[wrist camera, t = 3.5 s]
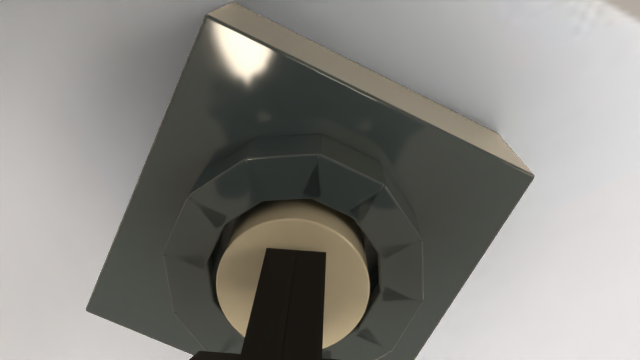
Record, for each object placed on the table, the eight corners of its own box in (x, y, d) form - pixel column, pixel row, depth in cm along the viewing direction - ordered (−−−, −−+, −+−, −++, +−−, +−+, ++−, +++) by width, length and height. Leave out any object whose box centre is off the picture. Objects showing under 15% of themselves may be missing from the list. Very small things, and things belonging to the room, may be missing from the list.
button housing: (127, 249, 23) (59, 346, 17) (231, 0, 20) (189, 20, 14) (364, 351, 24) (372, 472, 19) (499, 133, 21) (558, 201, 15)
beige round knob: (207, 279, 18) (192, 318, 16) (262, 165, 17) (252, 193, 15) (328, 331, 19) (328, 375, 17) (391, 225, 17) (398, 259, 15)
